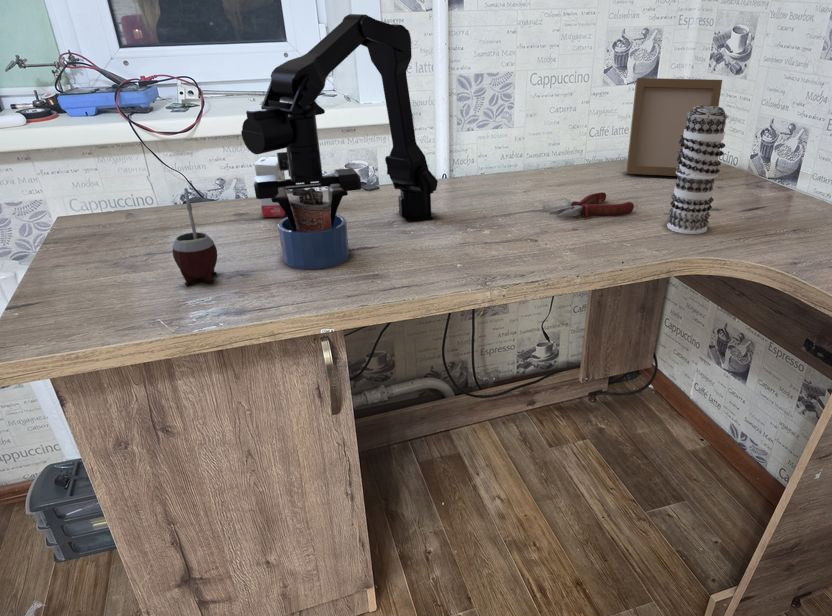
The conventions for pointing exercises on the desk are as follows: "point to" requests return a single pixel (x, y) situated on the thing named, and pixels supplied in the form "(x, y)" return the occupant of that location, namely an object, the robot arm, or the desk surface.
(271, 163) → the ink box
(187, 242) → the mate gourd
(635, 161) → the photo frame
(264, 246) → the desk surface
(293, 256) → the blue round bin
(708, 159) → the decorative candle
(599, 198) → the pliers
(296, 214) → the lighter
